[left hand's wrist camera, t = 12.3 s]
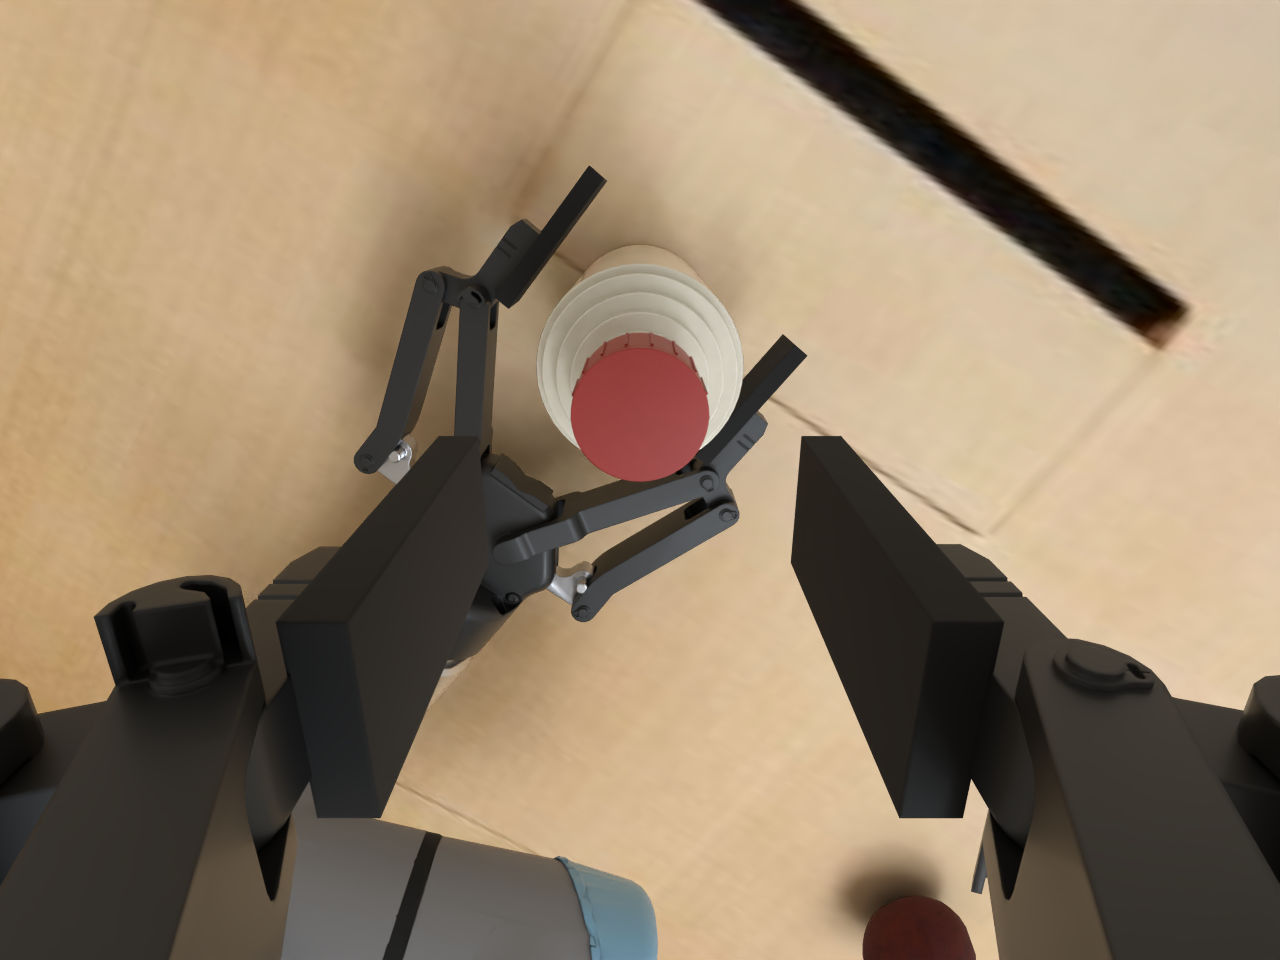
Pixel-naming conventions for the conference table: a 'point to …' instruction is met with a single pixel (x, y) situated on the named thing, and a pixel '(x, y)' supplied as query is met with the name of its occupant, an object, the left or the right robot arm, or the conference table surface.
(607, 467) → the cap
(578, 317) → the bottle
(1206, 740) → the left robot arm
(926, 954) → the dark red ball
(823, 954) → the conference table surface
